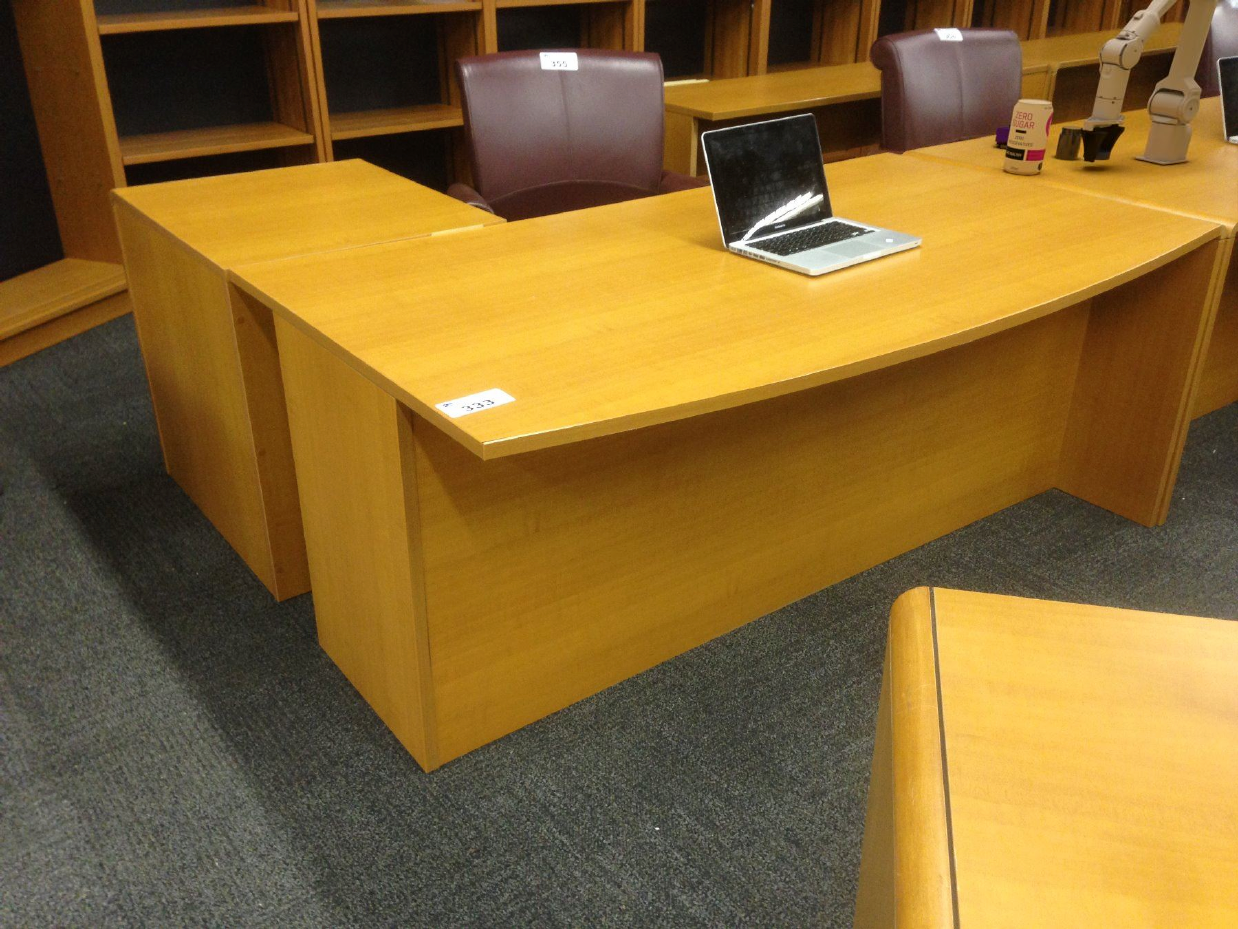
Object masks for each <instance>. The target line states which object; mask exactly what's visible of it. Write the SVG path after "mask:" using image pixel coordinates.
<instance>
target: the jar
mask: <svg viewBox="0 0 1238 929" xmlns="http://www.w3.org/2000/svg"><path fill="white" fill-rule="evenodd" d="M1081 128H1082V127H1081V126H1075V125H1063V126H1062V127H1061V131H1060V133H1059V135H1058V140H1057V145H1056V151H1055V155H1054V157H1055V159H1058V160H1063V161H1077V160H1078V158H1079V153H1080V149H1081V144H1082V141H1083V140H1082V136H1081V134H1080V129H1081Z"/></svg>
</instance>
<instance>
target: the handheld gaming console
mask: <svg viewBox="0 0 1238 929" xmlns="http://www.w3.org/2000/svg"><path fill="white" fill-rule="evenodd" d="M1010 127H1011V124H1008V125H1005V126H1004V125H1003V126H999V127H997V128H996V132H995V140H994V142H995V145H997V146H999V145H1000V146H999V147H1000V149H1003V150H1006V148H1007V143H1008V138H1009V132H1010Z"/></svg>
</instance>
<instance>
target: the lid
mask: <svg viewBox="0 0 1238 929" xmlns="http://www.w3.org/2000/svg"><path fill="white" fill-rule="evenodd" d="M1111 154H1112V151H1110V150H1108V149H1102V148H1099V150H1098V154H1097V156H1096V159H1095V161H1108V160H1110V158H1111ZM1082 158H1084V153H1082Z"/></svg>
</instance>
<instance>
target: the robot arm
mask: <svg viewBox="0 0 1238 929" xmlns="http://www.w3.org/2000/svg"><path fill="white" fill-rule="evenodd" d="M1177 1H1178V0H1151V2H1150V4H1149V5H1148V7H1147V8H1146V9H1141V10H1138V11H1137V12H1136V13H1134V14H1133V16H1132V18H1131V19H1130V20H1129V21H1128V23H1127V24H1126V25H1125V26H1124V27H1123V29H1122V30H1121V31H1119V33H1118V34H1117V36H1115V37H1114V38H1112V39H1109V40H1108V41H1106V42H1105V43H1104V44H1103V45H1102V47H1101V50H1100V51H1099V52H1098V62H1099V69H1098V71H1099V75H1100V77H1099V80H1098V86H1097V89H1096V94H1095V99H1094V104H1093V109H1092V113H1091V116H1090V117H1089V118H1087V119H1086V120H1083V125H1082V127H1081V129H1080V134H1081V136H1082V140H1081V141H1082V145H1083V154H1084V157H1083V161H1084V162H1087V163H1095V161H1096V160H1095V159H1096V156H1097V154H1098V150H1099V148H1102V149H1108V150H1110V151H1111V152H1112V151H1113V149H1114V146H1115V145H1116V143H1117V141H1118V140H1119V138H1120V137H1121V136H1122V134H1123V133H1124V132H1125V129H1126V127H1125V126H1122V125H1124V122H1125V118H1126V115H1123V114H1121V112H1122V108H1123V105H1124V104H1123V103H1124V100H1125V94H1126V90H1127V86H1128V82H1129V78H1130V73H1131V69H1132V68H1133V67H1135V66H1136V65H1137V64H1138V62H1139V61H1140V59H1141V55H1142V52H1143V51H1144V49H1145V45H1146V43H1147V42H1148V41H1149V40H1151V37H1153V35H1154V34H1155V33H1156V32H1157V31H1158V30H1159V29H1160V26H1161V18H1162V17H1163V16H1164V15H1165V14H1166V13H1167V11H1169V9H1171V8H1172V6H1174V4H1175V3H1176V2H1177ZM1218 2H1219V0H1189V7H1188V10H1187V12H1186V16H1185V20H1184V22H1183V27H1182V29H1181V33H1180V36H1179V39H1178V42H1177V46H1176V50H1175V53H1174V55H1173V59H1172V62H1171V65H1170V69H1169V72H1168V75H1167V76H1166V77H1165V78H1163V79H1161V80H1160V81H1158V82H1157V83H1156V85H1155V88H1154V90H1153V92H1152V94H1151V96H1150V97H1149V99H1148V101H1147V107H1146V109H1147V110H1146V111H1147V114H1148V116H1149V120H1150V121H1151V123H1150V128H1149V131H1148V136H1147V140H1146V144H1145V148H1144V152H1143V155H1135V157H1134V159H1136V160H1140V161H1145V162H1148V163H1154V164H1158V165H1163V166H1164V165H1171V164H1179V163H1186V162H1189V160H1190V159H1188V158H1187V154H1188V151H1189V147H1190V143H1191V140H1192V135H1193V130H1192V126H1191V124H1190V122H1191V121H1192V120H1193V119H1194V118H1195V117H1196V116H1197V114H1198V112H1199V111H1200V110H1199V109H1200V107H1201V106H1200V104H1201V103H1200V102H1201V101H1200V99H1201V94H1202V91H1203V90H1202V88H1201V86H1199V84H1198V83H1197V82H1196V80H1195V76H1196V72H1197V70H1198V66H1199V63H1200V60H1201V57H1202V53H1203V50H1204V47H1205V44H1206V40H1207V38H1208V34H1209V32H1210V28H1211V25H1212V22H1213V18H1214V15H1215V12H1216V8H1217V5H1218ZM1178 91H1179V92H1178Z"/></svg>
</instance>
